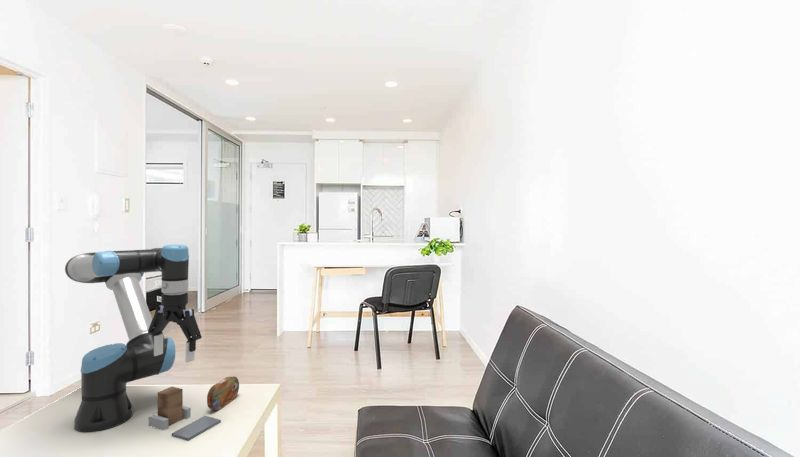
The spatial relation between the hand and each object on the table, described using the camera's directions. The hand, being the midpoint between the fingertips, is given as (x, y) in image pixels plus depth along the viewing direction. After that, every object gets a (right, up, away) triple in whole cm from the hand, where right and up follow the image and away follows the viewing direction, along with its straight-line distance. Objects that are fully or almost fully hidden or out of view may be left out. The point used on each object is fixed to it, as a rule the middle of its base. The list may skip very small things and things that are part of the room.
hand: (173, 358), depth 128 cm
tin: (+10, -21, +13) cm, 26 cm away
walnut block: (-1, -21, 0) cm, 21 cm away
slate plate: (+10, -21, -4) cm, 23 cm away
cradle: (-1, -21, 0) cm, 21 cm away
